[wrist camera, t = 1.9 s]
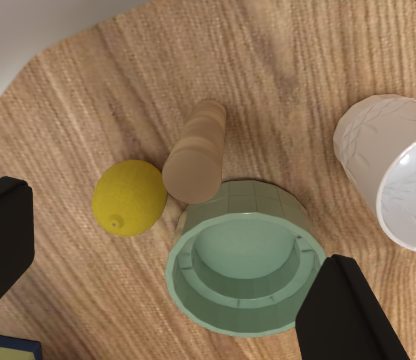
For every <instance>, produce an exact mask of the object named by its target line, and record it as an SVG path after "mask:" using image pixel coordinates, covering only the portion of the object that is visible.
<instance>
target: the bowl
mask: <svg viewBox="0 0 416 360" xmlns="http://www.w3.org/2000/svg"><path fill="white" fill-rule="evenodd" d="M326 258H327V256H326V253H325V250H324V248H323V246H322V243H321V241H320V239H319V236H318V234H317V232H316V229H315V227H314V225H313V222H312V220H311V217H310V215H309V213H308V212H307V210H306V209H305V208H304V207H303V206H302V204H301V203H300V202H299V201H298V200H297V198H296V197H294V196H292V195H291V194H289V193H287V192H286V191H284V190H282V189H281V188H279V187H277V186H275V185H271V184H267V183H263V182H258V181H254V180H245V181H228V182H225V183H222V184H221V185H220V188H219V190H218V192H217V193H216V194H215V195H214V196H213V197H212V198H211V199H209V200H208V201H205V202H203V203H198V204H188V206H187V207H186V209H185V210H184V212H183V213H182V215H181V216H180V218H179V221H178V225H177V228H176V231H175V235H174V238H173V242H172V245H171V248H170V252H169V255H168V260H167V265H166V269H165V277H166V282H167V288H168V292H169V294H170V296H171V297H172V299H173V300H174V302H175V304H176V305H177V307H178V308H179V310H181V311H182V312H183V313H184V314H185V315H186V316H188V317H189V318H190V319H191V320H192V321H194V322H195V323H196V324H199V325H201V326H203V327H205V328H207V329H209V330H211V331H213V332H216V333H221V334H225V335H230V336H234V337H264V336H269V335H273V334H278V333H282V332H285V331H287V330H289V329H291V328H293V327H295V319H296V315H297V313H298V311H299V309H300V307H301V305H302V303H303V301H304V299H305V297H306V295H307V293H308V291H309V289H310V287H311V285H312V284H313V282H314V280H315V278H316V276H317V274H318V272H319V270H320V268H321V266H322V264H323V262H324V260H325V259H326Z"/></svg>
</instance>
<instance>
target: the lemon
mask: <svg viewBox="0 0 416 360" xmlns="http://www.w3.org/2000/svg"><path fill="white" fill-rule="evenodd" d="M166 201H167V190H166V188H165V186H164V184H163V180H162V174H161V173H160V171H159V170H158V169H157V168H155V167H154V166H153V165H151V164H149V163H147V162H145V161H141V160H126V161H122V162H119V163H117V164H116V165H114V166H112V167H110V168H109V169H108V170H107V171H106V172H105V173H104V174H103V175H102V176H101V178H100V179H99V181H98V183H97V185H96V187H95V189H94V192H93V197H92V210H93V214H94V216H95V219H96V221H97V222H98V223H99V225H100V226H101V227H102V228H104V229H105V230H106V231H108V232H109V233H111V234H114V235H117V236H123V237H129V236H135V235H138V234H141V233H143V232H144V231H146V230H148V229H149V228H150V227H151V226H152V225H153V224H154V223H155V222H156V221H157V220H158V219H159V217H160V216H161V214H162V212H163V210H164V208H165V205H166Z"/></svg>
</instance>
